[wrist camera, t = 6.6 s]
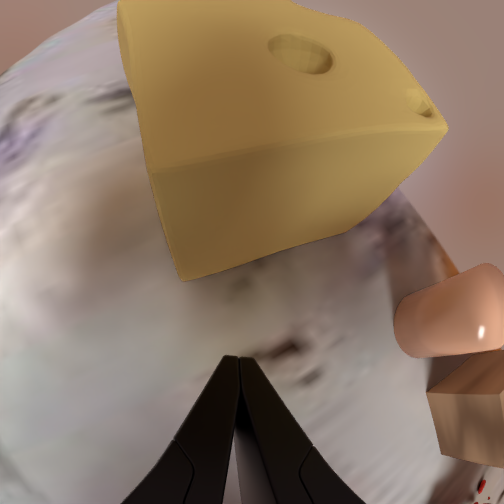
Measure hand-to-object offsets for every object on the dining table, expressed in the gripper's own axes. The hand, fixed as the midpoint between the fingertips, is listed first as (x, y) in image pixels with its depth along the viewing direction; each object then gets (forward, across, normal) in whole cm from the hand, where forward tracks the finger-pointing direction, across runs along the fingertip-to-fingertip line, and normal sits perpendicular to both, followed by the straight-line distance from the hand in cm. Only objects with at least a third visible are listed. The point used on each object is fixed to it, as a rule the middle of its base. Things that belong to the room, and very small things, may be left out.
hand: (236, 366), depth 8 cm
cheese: (+12, 0, -3) cm, 12 cm away
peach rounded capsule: (+6, -11, +3) cm, 13 cm away
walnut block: (+2, -15, +6) cm, 17 cm away
